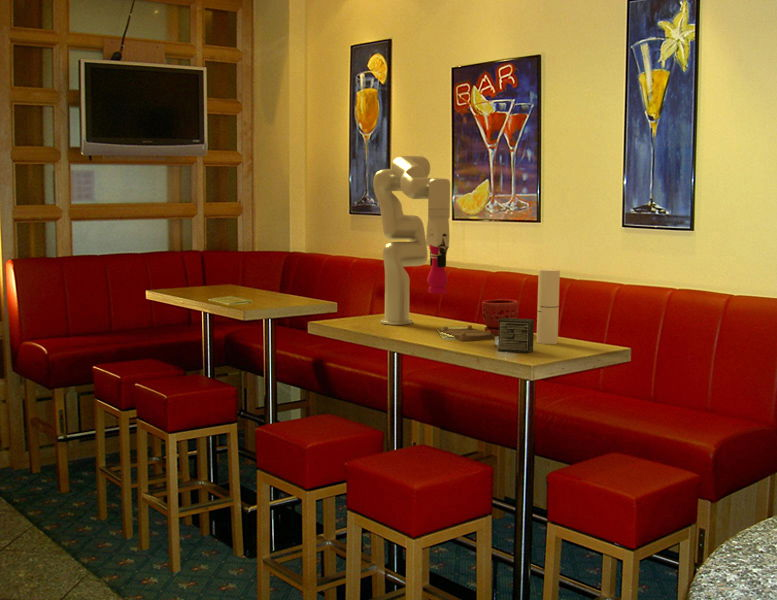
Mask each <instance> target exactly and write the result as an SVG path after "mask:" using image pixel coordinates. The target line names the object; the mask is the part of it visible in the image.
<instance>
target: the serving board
mask: <svg viewBox="0 0 777 600" xmlns="http://www.w3.org/2000/svg"><path fill="white" fill-rule="evenodd" d="M440 332H443V333H446V334H449V335H452V336H454V337H455V339H454V340H456V341H461V342H467V341H468V342H469V341H471V342H472V341H485V340H494V339H496V335H495V334H491V331H487V332H486V331H484V330H480V329H476V328H473V325H471V324H469V325H468V326H467V327H466V328H449V329H448V326H443V329H439V333H440Z"/></svg>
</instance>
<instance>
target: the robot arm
mask: <svg viewBox="0 0 777 600" xmlns="http://www.w3.org/2000/svg"><path fill="white" fill-rule="evenodd" d="M430 173H431V163H430V160H428V158H427V157H425V156H423V155H400V156H397V157H396V158H394V159H393V161H392V162H391V168H385V169H384V168H383V169H381V170H378V171H376V172H375V174H374V176H373V183H372V184H373V185H372V186H373V191H374V195H375V198H376V200H377V203H378V205H379V208H380V216H381V217H380V218H381V224H382V231H383V235H384V237H385V238H387V239H389V240H393V241H391V242H388V243H386V244H385V245H384V246H383V248H382V257H383V265H384V266H383V267H384V318H382V319H380V324H383V325H391V326H403V325H404V326H405V325H406V326H407V325H412V324H413V323H414V320H413V319H412V318H410V287H411V285H410V284H411V283H410V281H411V280H410V276H409V274H408V272H407V271H406V269H405V268H404V267H420V266H424V265H425V264H426V263H427V261H428V255H429V254H430V256H429V264H430V267H432V258H431V256H432V255H431V254H432V252H431V251H430V245H432V246H434V247H438V255H439V256H437V267H444V268H446V267H447V253H448V250H449V248H450V221H449V219H450V217H451V216H450V215H451V213H450V212H451V209H450V208H451V182H450V180H449V179H448V178H442V177H441V178H439V177H429V175H430ZM393 192H402V193H403V194H404V195H405V196H406V197H407V198H409V199H411V200H428V201H427V202H428V205H427V206H428V207H427V208H428V209H427V216H428V217H427V218H428V220H427V225H426V233H425V227H424V226H425V225H424V222H423V220H422V219H421V217H419V216H417V215H413V214H410V215H409V214H408V215H407V214H404V212H403V207H402V203H401V200H400V199H399V198H398V197H397V195H395V194H394V193H393ZM394 240H397V241H394ZM401 240H403V241H401ZM404 240H409V241H404ZM440 245H444V246H440ZM428 247H429V254H428ZM440 248H442V249H440Z"/></svg>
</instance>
